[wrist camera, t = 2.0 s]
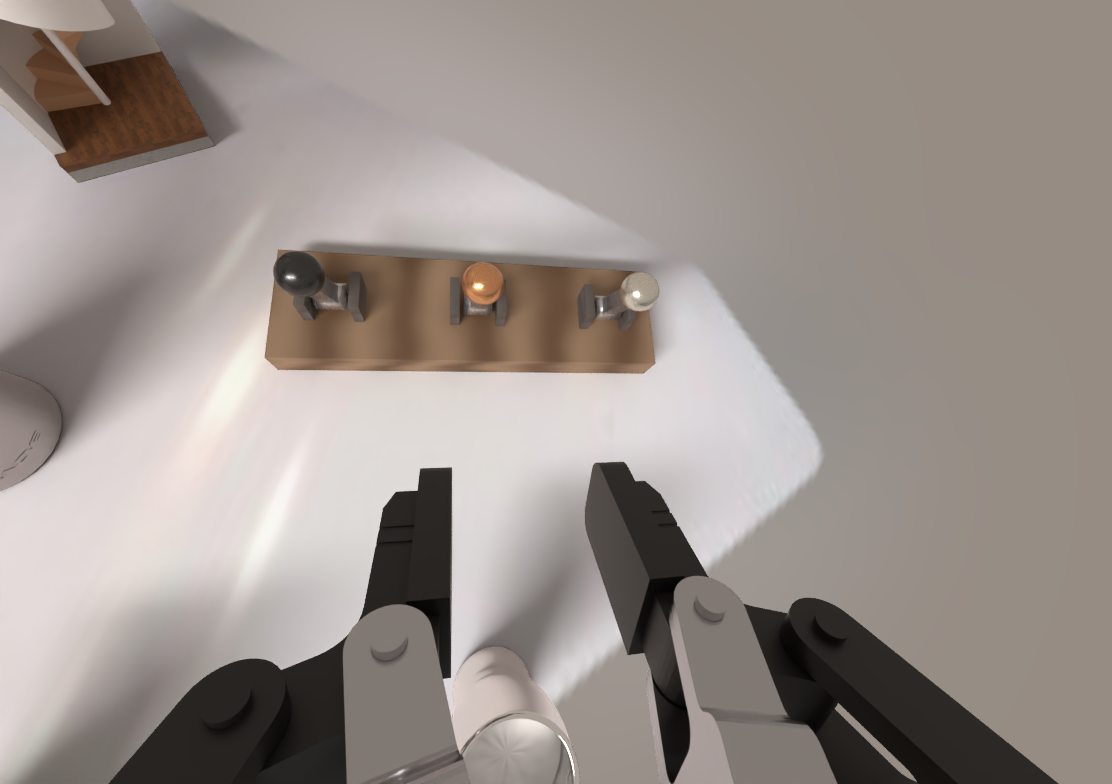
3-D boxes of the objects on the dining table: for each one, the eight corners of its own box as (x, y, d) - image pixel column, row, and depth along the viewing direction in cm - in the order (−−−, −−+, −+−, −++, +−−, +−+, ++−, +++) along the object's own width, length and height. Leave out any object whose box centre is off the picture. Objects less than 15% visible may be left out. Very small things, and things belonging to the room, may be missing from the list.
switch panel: (278, 369, 40) (249, 344, 34) (289, 268, 42) (265, 229, 37) (643, 373, 47) (667, 352, 41) (632, 286, 50) (654, 256, 44)
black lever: (316, 315, 39) (265, 291, 28) (316, 280, 39) (265, 243, 28) (354, 316, 39) (318, 294, 29) (354, 281, 39) (317, 246, 29)
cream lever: (587, 324, 44) (628, 307, 34) (587, 293, 44) (628, 266, 33) (616, 325, 45) (665, 309, 34) (617, 294, 44) (666, 269, 34)
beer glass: (482, 622, 37) (499, 677, 23) (551, 671, 37) (609, 756, 23) (427, 707, 35) (409, 827, 21) (501, 760, 35) (533, 915, 21)
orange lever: (460, 320, 41) (462, 300, 31) (460, 287, 41) (462, 255, 31) (493, 321, 42) (506, 302, 32) (493, 288, 42) (506, 258, 32)
